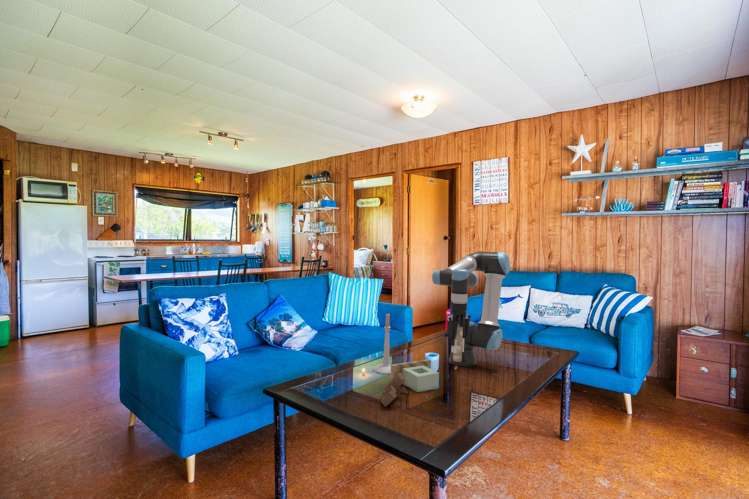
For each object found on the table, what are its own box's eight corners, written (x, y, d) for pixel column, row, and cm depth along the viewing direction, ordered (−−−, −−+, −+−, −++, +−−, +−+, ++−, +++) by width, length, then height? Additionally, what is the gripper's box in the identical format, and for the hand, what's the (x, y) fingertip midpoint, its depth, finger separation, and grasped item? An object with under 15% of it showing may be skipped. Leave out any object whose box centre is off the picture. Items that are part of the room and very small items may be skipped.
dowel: (457, 358, 186) (458, 325, 186) (463, 361, 183) (464, 327, 182) (451, 359, 184) (452, 326, 184) (456, 362, 181) (458, 328, 180)
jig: (427, 379, 194) (428, 358, 194) (456, 393, 176) (457, 371, 176) (390, 385, 183) (390, 364, 183) (416, 402, 165) (417, 379, 165)
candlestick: (398, 367, 211) (400, 311, 210) (397, 375, 198) (399, 316, 198) (374, 365, 212) (376, 310, 212) (372, 373, 199) (374, 314, 199)
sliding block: (422, 379, 189) (423, 365, 189) (438, 388, 179) (439, 372, 179) (402, 383, 183) (402, 368, 183) (417, 392, 173) (417, 376, 173)
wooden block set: (385, 413, 159) (401, 398, 155) (371, 395, 162) (386, 381, 158) (404, 396, 175) (418, 383, 171) (391, 381, 178) (405, 367, 174)
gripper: (467, 300, 190) (465, 347, 191) (439, 302, 182) (438, 352, 182) (478, 302, 184) (476, 351, 184) (450, 304, 175) (448, 356, 176)
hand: (457, 351), depth 183 cm, fingers closed on dowel, 4 cm apart
